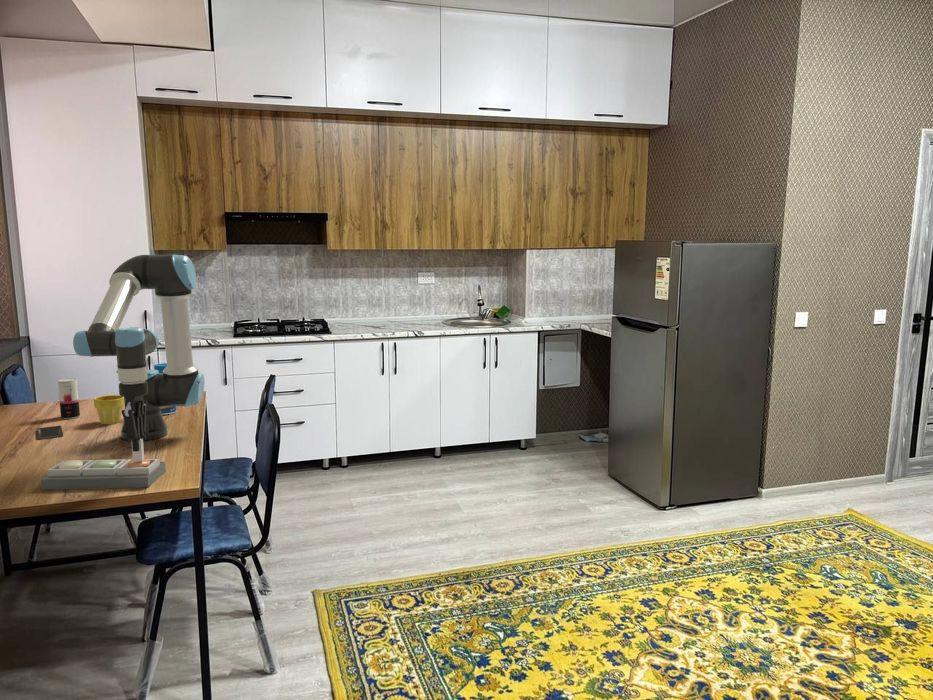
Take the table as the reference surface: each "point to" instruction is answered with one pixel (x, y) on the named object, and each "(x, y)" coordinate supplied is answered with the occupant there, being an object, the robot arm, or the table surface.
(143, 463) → the terracotta button
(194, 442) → the table surface
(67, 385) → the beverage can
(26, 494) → the table surface
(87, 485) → the button panel
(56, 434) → the phone
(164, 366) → the beverage bottle
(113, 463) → the sage button
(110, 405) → the plant pot
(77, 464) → the cream button
